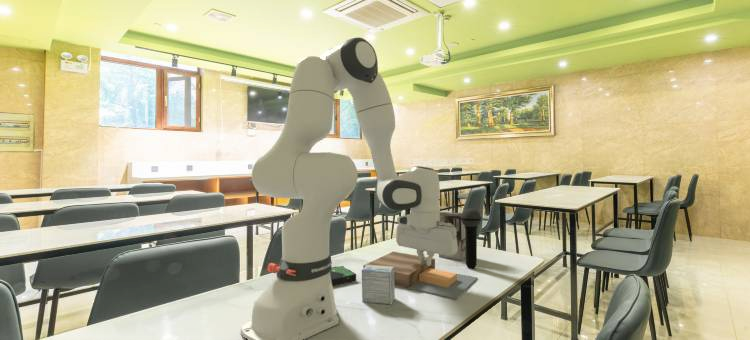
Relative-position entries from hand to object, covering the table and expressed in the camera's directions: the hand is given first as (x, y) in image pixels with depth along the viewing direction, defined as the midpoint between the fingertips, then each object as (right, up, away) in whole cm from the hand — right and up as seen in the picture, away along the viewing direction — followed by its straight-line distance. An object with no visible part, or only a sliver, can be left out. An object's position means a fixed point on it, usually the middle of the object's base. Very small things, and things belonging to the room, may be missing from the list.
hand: (425, 264), depth 104 cm
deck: (-7, -5, +5) cm, 10 cm away
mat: (+5, -5, -3) cm, 8 cm away
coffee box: (+14, -4, +24) cm, 28 cm away
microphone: (+17, -4, +11) cm, 20 cm away
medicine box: (-15, -6, -14) cm, 21 cm away
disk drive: (-30, -6, +1) cm, 31 cm away
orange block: (+3, -4, -2) cm, 6 cm away
